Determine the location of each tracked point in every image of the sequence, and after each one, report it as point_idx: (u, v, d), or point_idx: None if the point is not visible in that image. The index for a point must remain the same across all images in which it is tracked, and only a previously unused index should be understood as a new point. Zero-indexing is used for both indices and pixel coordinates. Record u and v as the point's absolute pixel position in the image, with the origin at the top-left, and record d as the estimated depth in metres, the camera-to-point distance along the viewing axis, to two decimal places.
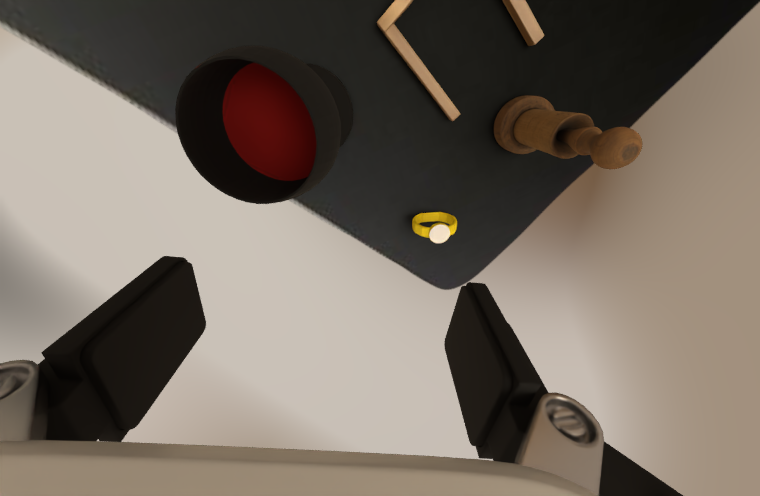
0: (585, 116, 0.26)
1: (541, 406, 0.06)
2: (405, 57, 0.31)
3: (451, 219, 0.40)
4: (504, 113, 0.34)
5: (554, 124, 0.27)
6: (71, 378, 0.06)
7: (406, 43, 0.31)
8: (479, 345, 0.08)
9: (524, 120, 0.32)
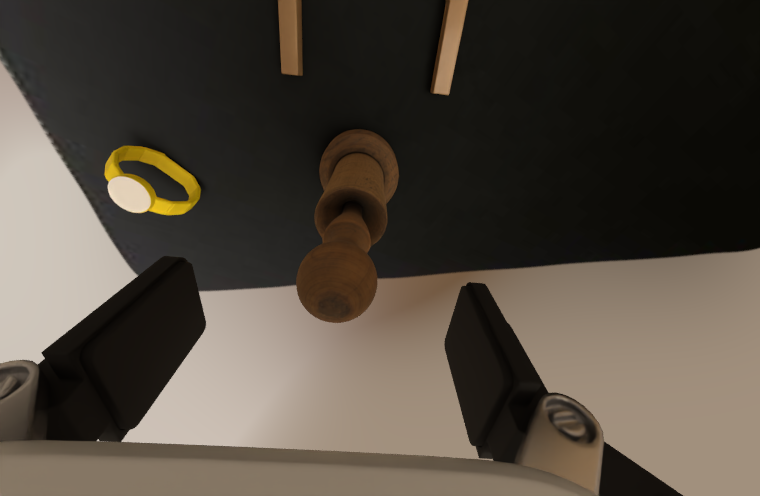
0: (383, 209, 0.15)
1: (541, 406, 0.06)
2: None
3: (192, 197, 0.24)
4: (346, 133, 0.22)
5: (343, 183, 0.15)
6: (71, 378, 0.06)
7: None
8: (479, 345, 0.08)
9: (349, 159, 0.20)
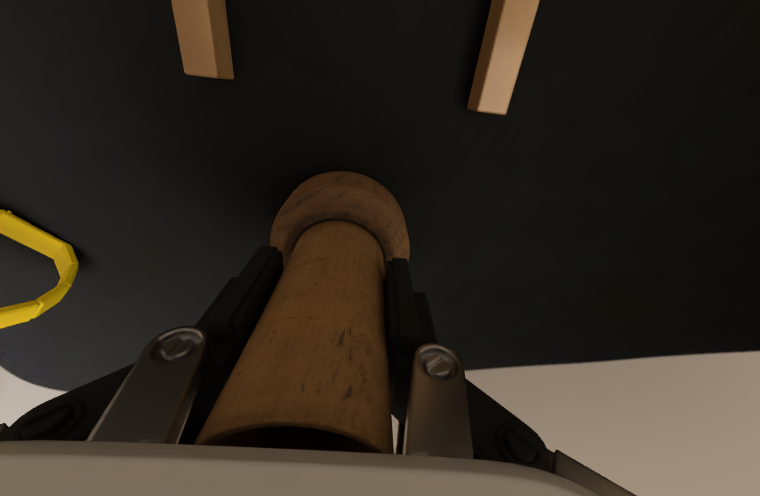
0: None
1: (417, 352, 0.07)
2: None
3: (57, 286, 0.14)
4: (316, 183, 0.12)
5: (267, 390, 0.05)
6: (224, 342, 0.07)
7: None
8: (387, 309, 0.09)
9: (317, 241, 0.10)
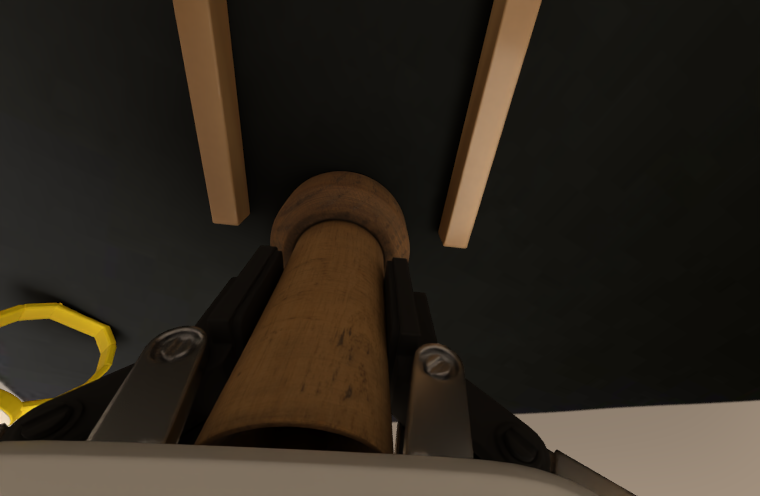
0: None
1: (417, 352, 0.07)
2: None
3: (101, 365, 0.17)
4: (316, 183, 0.12)
5: (267, 391, 0.05)
6: (224, 342, 0.07)
7: None
8: (387, 309, 0.09)
9: (316, 241, 0.10)
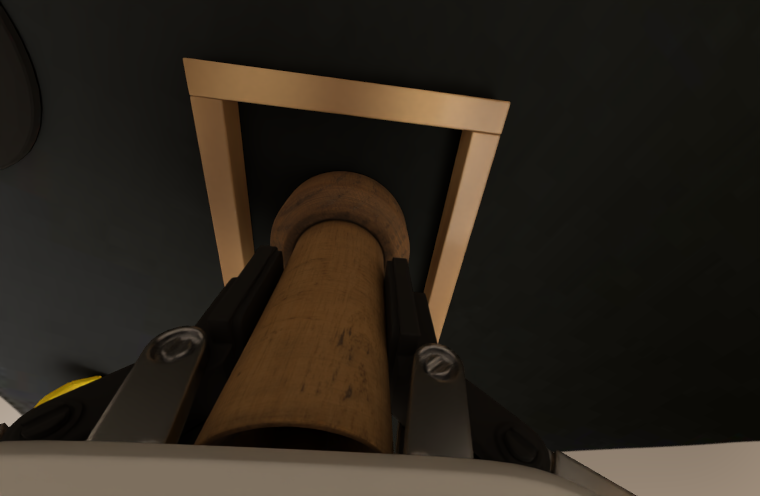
0: None
1: (417, 352, 0.07)
2: (207, 178, 0.12)
3: None
4: (316, 183, 0.12)
5: (267, 391, 0.05)
6: (224, 342, 0.07)
7: (225, 160, 0.12)
8: (387, 309, 0.09)
9: (316, 241, 0.10)
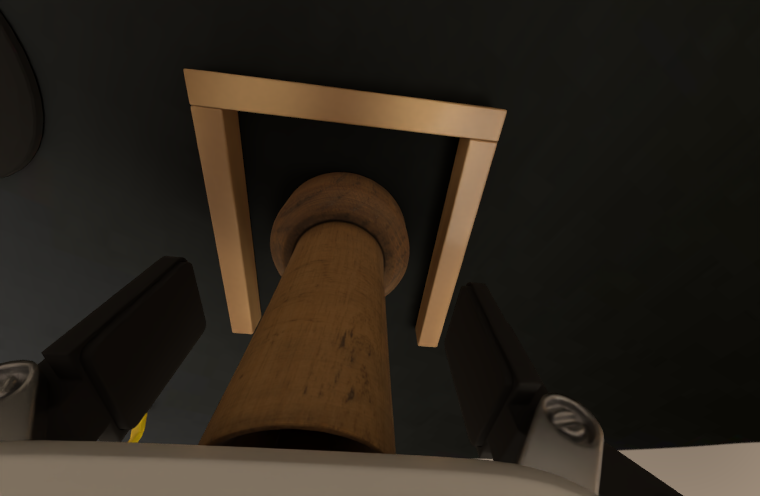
0: None
1: (541, 406, 0.06)
2: (207, 186, 0.12)
3: (135, 432, 0.21)
4: (315, 185, 0.12)
5: (270, 393, 0.05)
6: (71, 378, 0.06)
7: (225, 168, 0.12)
8: (479, 345, 0.08)
9: (317, 243, 0.10)
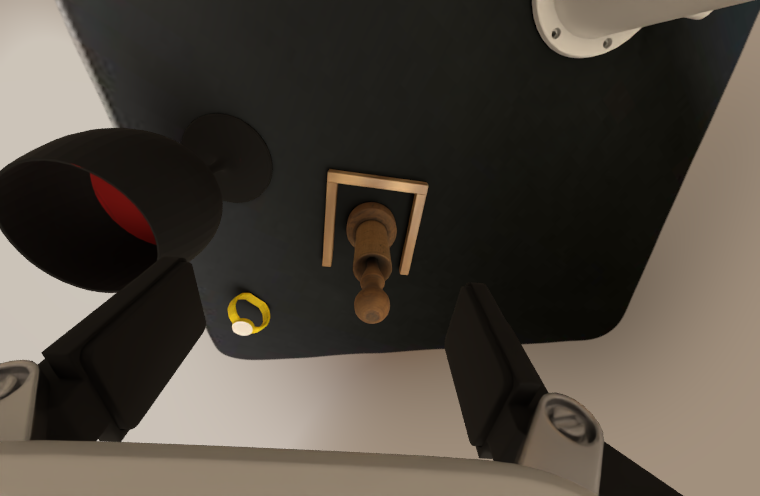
0: (389, 264, 0.29)
1: (541, 406, 0.06)
2: (326, 206, 0.36)
3: (266, 318, 0.43)
4: (365, 207, 0.36)
5: (369, 250, 0.29)
6: (71, 378, 0.06)
7: (334, 201, 0.35)
8: (479, 345, 0.08)
9: (368, 226, 0.34)
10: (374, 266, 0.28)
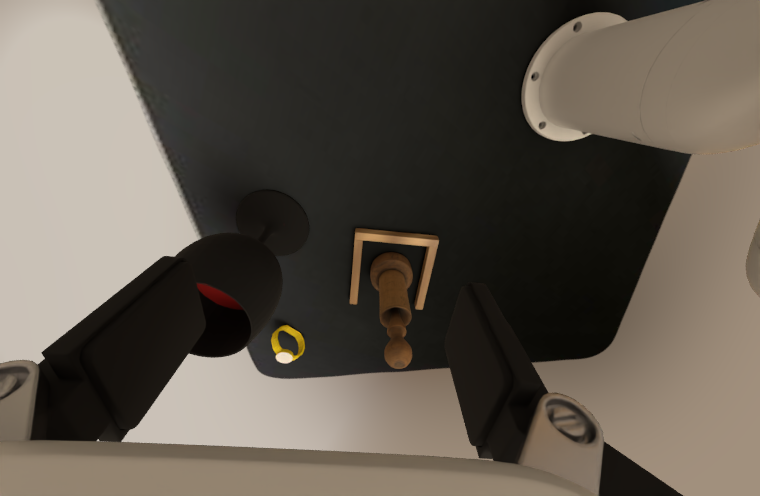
0: (409, 314, 0.36)
1: (541, 406, 0.06)
2: (353, 258, 0.43)
3: (301, 346, 0.51)
4: (386, 258, 0.43)
5: (393, 303, 0.36)
6: (71, 378, 0.06)
7: (360, 254, 0.43)
8: (479, 345, 0.08)
9: (389, 276, 0.41)
10: (397, 317, 0.35)
